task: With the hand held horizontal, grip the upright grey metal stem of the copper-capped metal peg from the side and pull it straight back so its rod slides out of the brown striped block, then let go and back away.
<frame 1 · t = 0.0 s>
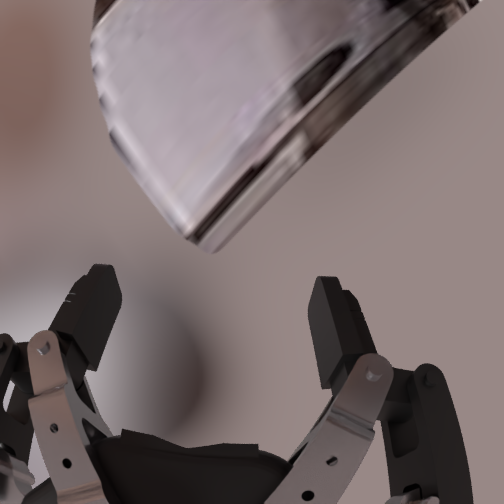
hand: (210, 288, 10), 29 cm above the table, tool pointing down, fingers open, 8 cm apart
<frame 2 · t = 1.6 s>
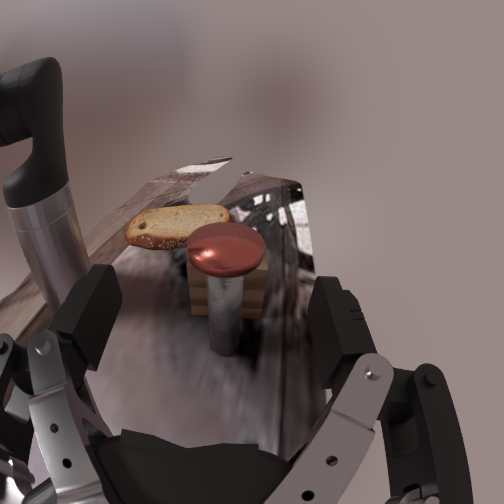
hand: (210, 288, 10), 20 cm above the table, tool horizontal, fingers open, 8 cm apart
copper-capped metal peg: (226, 278, 30), point 8 cm above the table, slide at 0.0 cm
seeded bread slice: (179, 230, 52), on the table
brown striped block: (227, 303, 37), on the table
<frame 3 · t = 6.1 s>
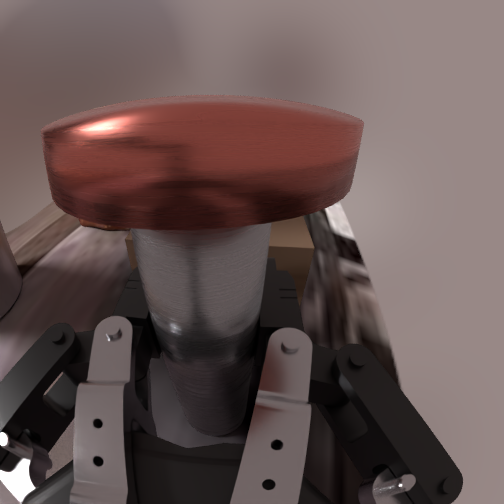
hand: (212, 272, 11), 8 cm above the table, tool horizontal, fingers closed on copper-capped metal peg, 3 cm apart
copper-capped metal peg: (215, 267, 12), point 8 cm above the table, slide at 0.0 cm, touching gripper
brown striped block: (221, 320, 19), on the table
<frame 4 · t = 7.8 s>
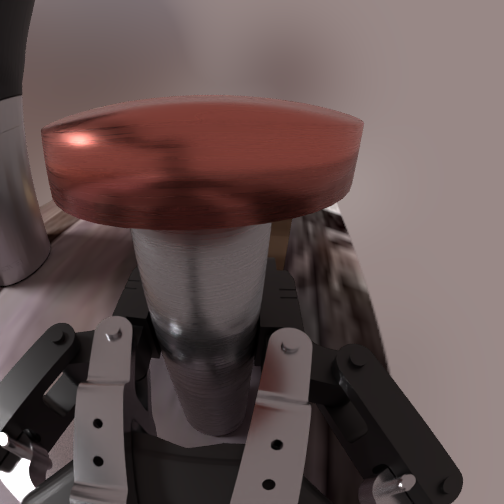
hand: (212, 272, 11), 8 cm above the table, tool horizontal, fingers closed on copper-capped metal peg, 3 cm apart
copper-capped metal peg: (215, 267, 12), point 8 cm above the table, slide at 6.1 cm, touching gripper
brown striped block: (226, 267, 24), on the table
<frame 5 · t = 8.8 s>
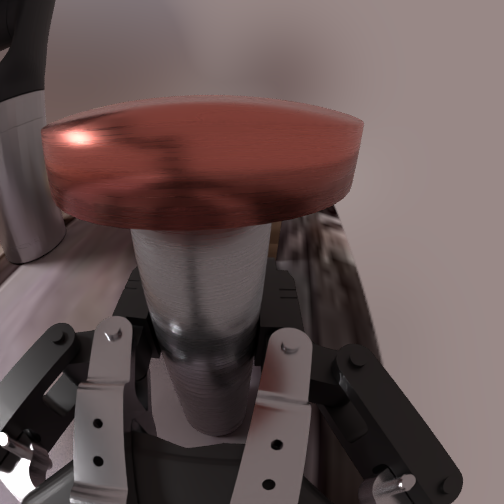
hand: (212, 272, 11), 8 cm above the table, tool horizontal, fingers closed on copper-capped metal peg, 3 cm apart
copper-capped metal peg: (215, 267, 12), point 8 cm above the table, slide at 10.0 cm, touching gripper
brown striped block: (228, 243, 27), on the table
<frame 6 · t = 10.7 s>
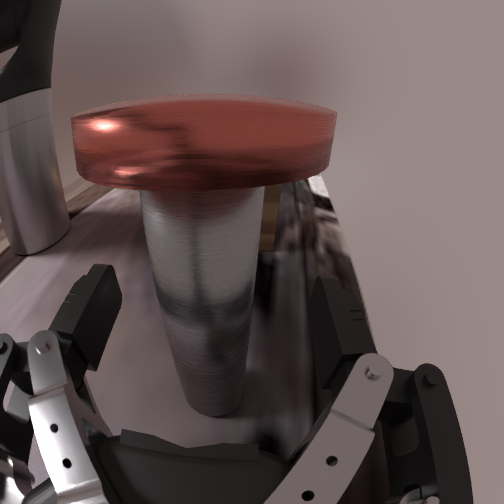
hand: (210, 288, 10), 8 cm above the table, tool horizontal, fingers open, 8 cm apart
copper-capped metal peg: (215, 251, 13), point 8 cm above the table, slide at 10.2 cm
brown striped block: (227, 235, 28), on the table
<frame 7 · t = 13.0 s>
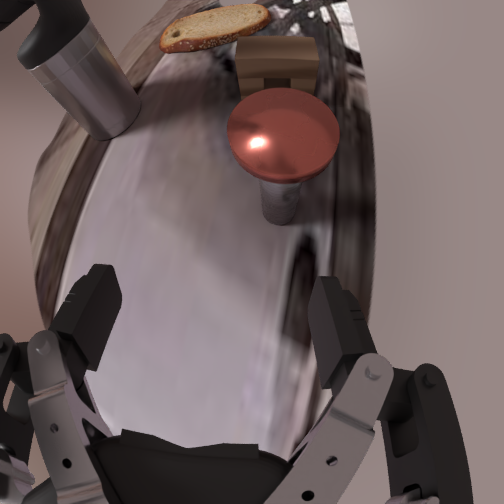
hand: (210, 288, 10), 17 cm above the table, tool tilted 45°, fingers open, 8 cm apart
copper-capped metal peg: (280, 141, 22), point 8 cm above the table, slide at 10.2 cm
seeded bread slice: (216, 30, 37), on the table
brown striped block: (276, 92, 32), on the table
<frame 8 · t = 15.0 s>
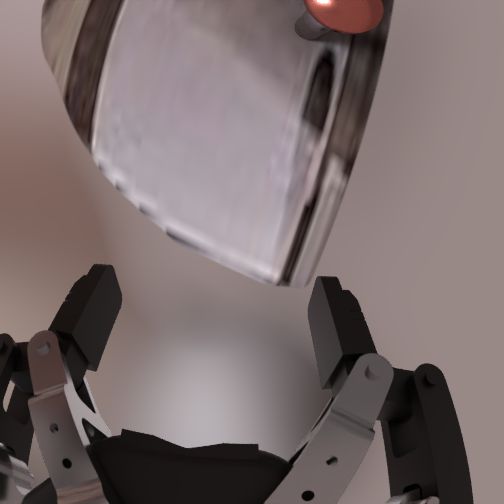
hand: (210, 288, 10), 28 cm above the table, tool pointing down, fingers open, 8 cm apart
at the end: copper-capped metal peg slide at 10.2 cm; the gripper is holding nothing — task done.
